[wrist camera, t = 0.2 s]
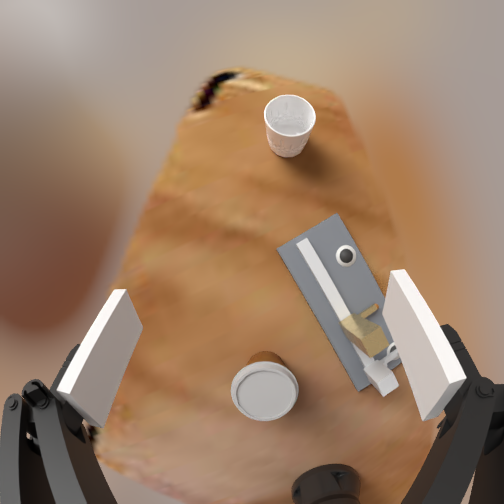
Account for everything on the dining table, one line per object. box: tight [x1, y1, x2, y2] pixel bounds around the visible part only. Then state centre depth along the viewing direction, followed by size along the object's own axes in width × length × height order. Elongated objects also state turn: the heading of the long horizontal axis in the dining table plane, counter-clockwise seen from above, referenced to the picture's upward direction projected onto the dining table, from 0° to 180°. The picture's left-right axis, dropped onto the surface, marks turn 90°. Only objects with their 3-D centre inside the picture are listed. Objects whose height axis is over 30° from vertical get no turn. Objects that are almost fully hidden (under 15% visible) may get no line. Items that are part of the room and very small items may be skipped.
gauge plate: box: [276, 213, 402, 397], centre depth 42 cm, size 30×12×10 cm, turn 30°
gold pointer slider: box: [339, 303, 389, 358], centre depth 38 cm, size 3×8×13 cm, turn 120°
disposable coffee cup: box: [231, 351, 299, 421], centre depth 41 cm, size 10×10×12 cm
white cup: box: [264, 95, 316, 157], centre depth 45 cm, size 8×8×10 cm
